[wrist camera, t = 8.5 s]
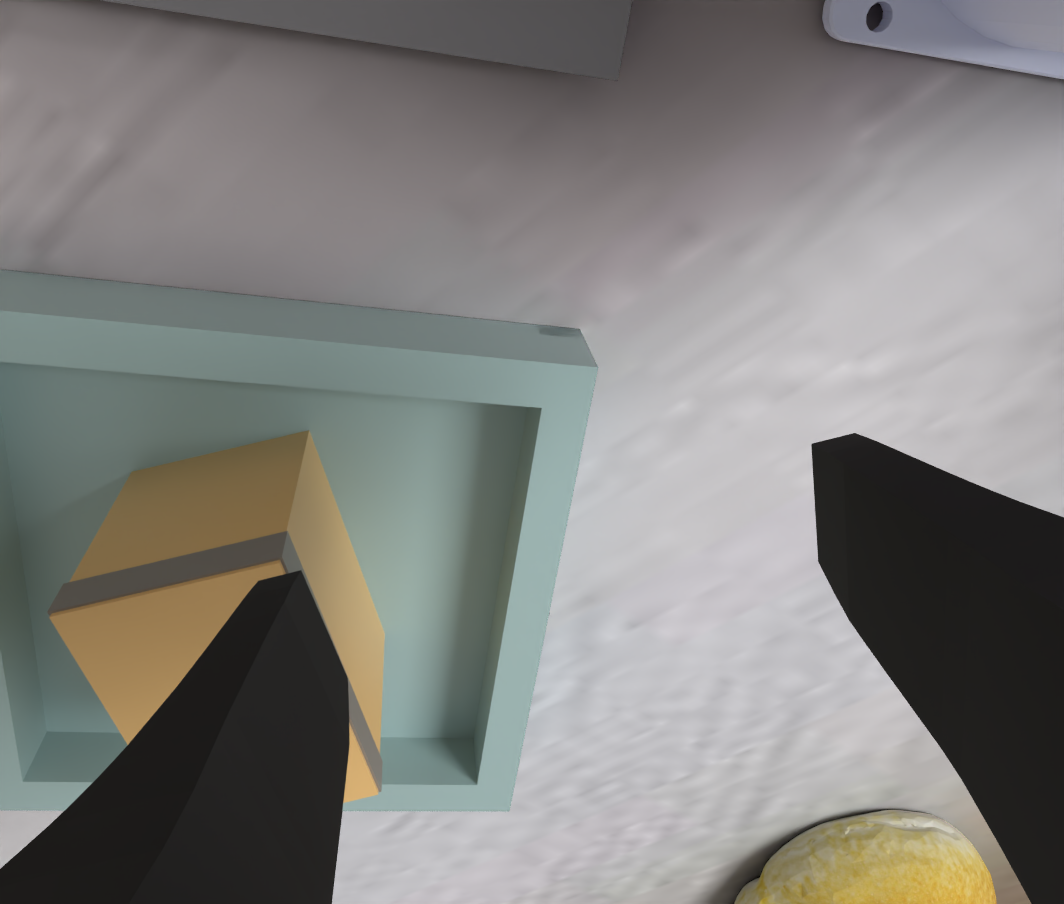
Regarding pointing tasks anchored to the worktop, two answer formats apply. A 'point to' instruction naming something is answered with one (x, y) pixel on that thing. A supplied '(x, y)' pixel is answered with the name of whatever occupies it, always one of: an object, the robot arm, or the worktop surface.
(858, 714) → the worktop surface
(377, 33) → the grey rectangular frame
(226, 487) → the tan box
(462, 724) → the parts tray
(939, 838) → the bread roll
